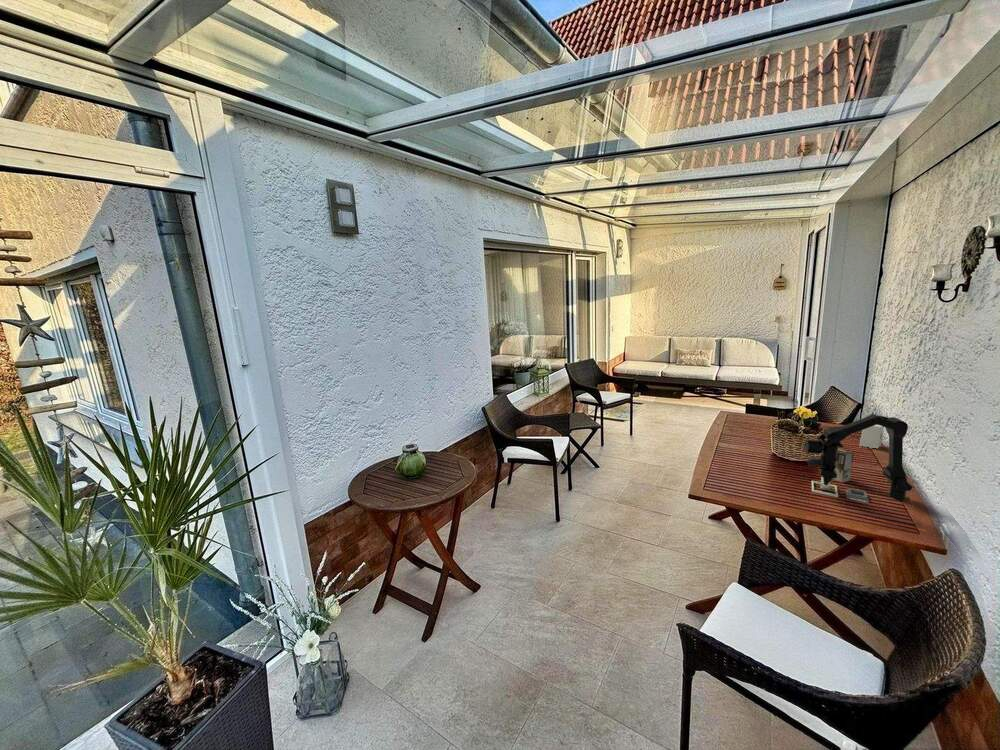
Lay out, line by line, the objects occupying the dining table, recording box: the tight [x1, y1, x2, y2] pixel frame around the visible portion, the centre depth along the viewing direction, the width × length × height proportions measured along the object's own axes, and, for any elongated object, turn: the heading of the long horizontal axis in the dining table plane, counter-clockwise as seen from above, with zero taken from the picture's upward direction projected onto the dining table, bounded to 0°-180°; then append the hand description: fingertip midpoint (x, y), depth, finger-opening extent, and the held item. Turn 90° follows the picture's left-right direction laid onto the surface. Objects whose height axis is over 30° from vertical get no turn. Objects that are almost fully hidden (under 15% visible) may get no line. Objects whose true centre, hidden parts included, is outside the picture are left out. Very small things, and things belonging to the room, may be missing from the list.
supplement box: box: [859, 425, 885, 449], centre depth 258 cm, size 9×9×15 cm
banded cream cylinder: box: [819, 476, 831, 491], centre depth 206 cm, size 4×4×9 cm
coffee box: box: [832, 447, 855, 483], centre depth 217 cm, size 9×6×16 cm
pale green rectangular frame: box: [811, 480, 839, 498], centre depth 207 cm, size 12×10×2 cm
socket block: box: [844, 487, 870, 504], centre depth 200 cm, size 10×8×3 cm
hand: (825, 483), depth 206 cm, fingers closed on banded cream cylinder, 3 cm apart
